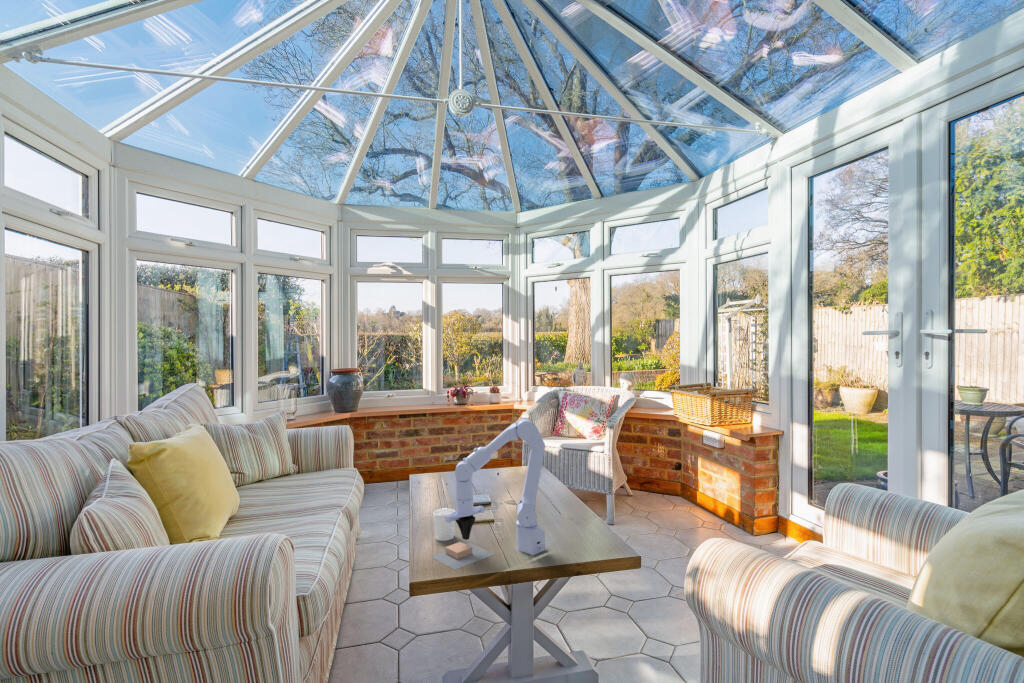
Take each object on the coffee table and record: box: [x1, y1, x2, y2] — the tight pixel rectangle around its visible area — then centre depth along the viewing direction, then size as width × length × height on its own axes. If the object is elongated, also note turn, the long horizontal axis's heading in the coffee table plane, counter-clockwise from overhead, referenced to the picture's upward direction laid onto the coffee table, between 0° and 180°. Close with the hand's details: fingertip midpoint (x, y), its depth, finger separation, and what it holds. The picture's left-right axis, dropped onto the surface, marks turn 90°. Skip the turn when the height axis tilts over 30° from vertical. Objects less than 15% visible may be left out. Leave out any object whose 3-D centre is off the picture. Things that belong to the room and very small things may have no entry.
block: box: [444, 541, 473, 559], centre depth 163 cm, size 7×2×6 cm
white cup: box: [432, 507, 456, 542], centre depth 178 cm, size 8×8×10 cm
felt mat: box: [430, 542, 495, 571], centre depth 161 cm, size 14×16×1 cm
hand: (465, 538), depth 165 cm, fingers closed
